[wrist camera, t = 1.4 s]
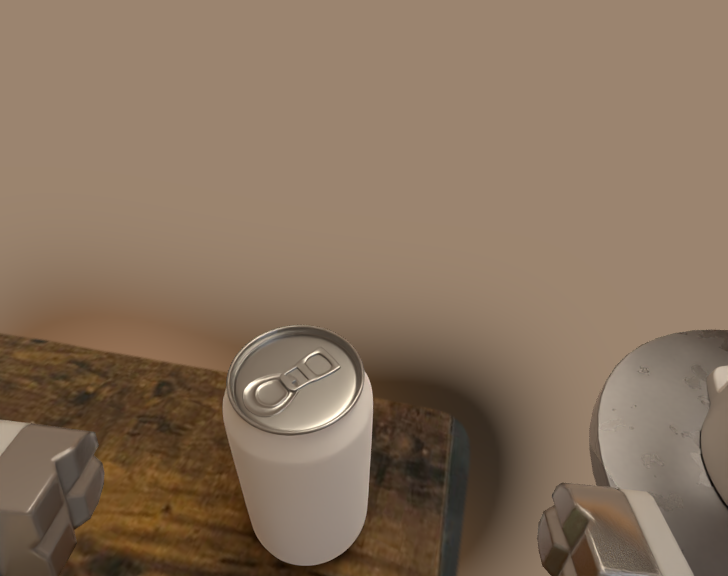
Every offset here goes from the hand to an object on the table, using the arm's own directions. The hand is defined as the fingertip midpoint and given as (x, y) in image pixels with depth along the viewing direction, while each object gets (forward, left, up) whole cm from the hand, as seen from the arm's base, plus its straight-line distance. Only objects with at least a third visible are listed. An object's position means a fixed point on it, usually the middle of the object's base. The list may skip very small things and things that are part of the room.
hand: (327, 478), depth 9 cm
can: (0, -9, -20) cm, 22 cm away
